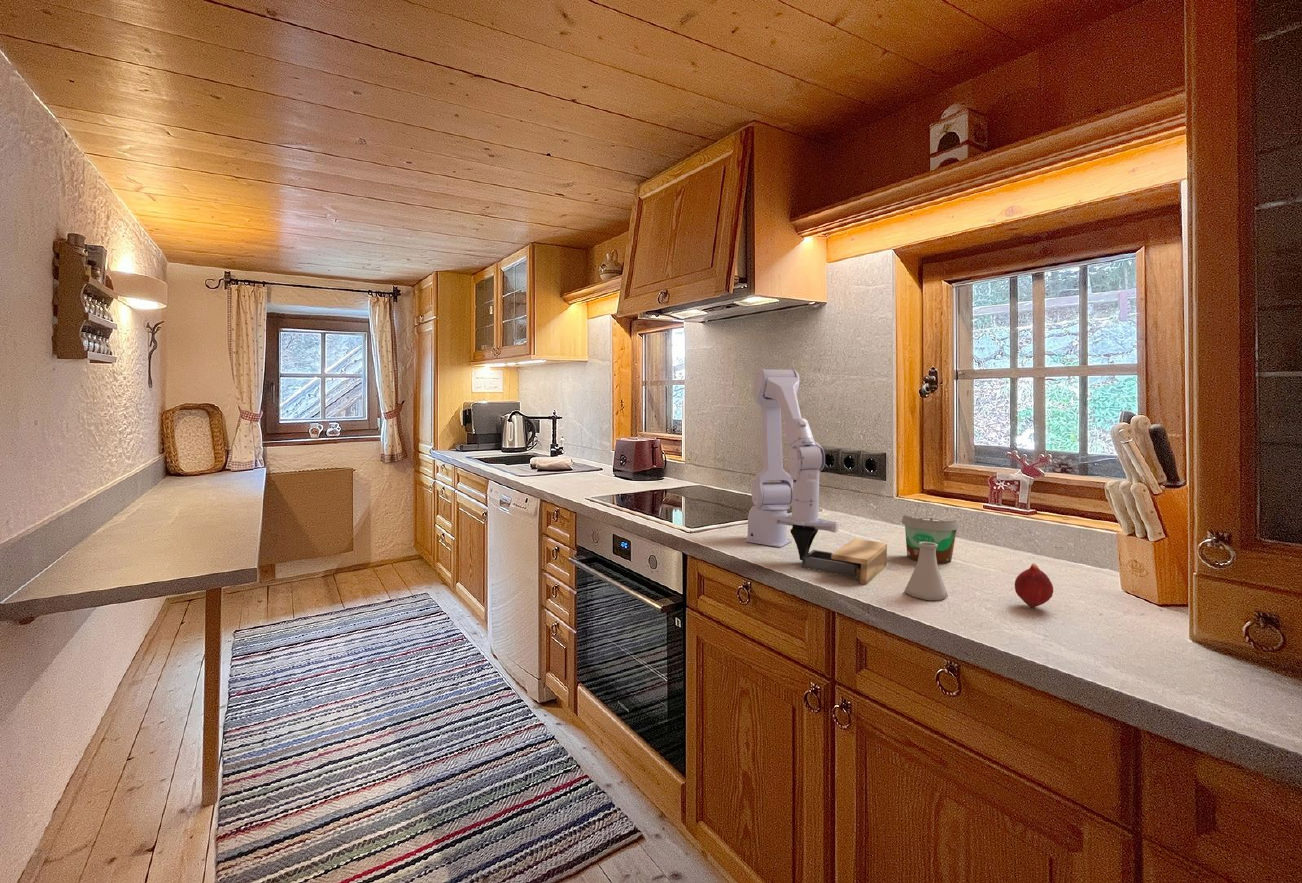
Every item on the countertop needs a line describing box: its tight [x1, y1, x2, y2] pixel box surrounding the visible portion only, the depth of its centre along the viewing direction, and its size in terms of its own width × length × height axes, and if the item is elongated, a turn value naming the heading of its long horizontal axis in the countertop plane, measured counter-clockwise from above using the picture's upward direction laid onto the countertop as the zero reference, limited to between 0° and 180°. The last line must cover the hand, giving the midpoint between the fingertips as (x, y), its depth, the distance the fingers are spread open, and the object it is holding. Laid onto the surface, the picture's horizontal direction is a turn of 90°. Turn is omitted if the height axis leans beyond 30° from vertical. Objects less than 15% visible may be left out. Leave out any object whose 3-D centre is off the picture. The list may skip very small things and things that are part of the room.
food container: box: [901, 513, 961, 565], centre depth 136 cm, size 12×6×10 cm, turn 62°
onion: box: [1014, 562, 1054, 608], centre depth 107 cm, size 6×6×8 cm
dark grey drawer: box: [801, 549, 861, 578], centre depth 130 cm, size 12×7×2 cm, turn 55°
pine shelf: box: [831, 538, 888, 585], centre depth 128 cm, size 7×16×5 cm, turn 145°
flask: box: [903, 542, 949, 601], centre depth 113 cm, size 7×7×10 cm
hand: (803, 559), depth 134 cm, fingers closed
